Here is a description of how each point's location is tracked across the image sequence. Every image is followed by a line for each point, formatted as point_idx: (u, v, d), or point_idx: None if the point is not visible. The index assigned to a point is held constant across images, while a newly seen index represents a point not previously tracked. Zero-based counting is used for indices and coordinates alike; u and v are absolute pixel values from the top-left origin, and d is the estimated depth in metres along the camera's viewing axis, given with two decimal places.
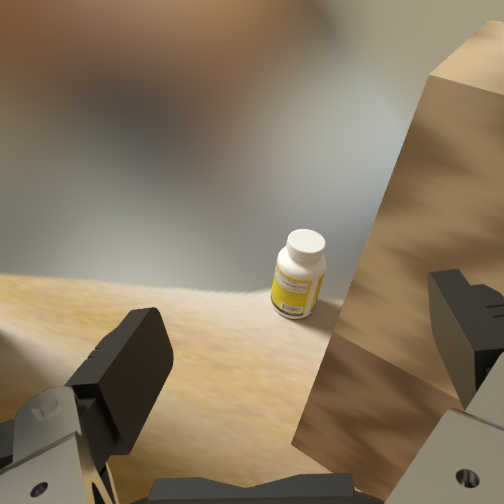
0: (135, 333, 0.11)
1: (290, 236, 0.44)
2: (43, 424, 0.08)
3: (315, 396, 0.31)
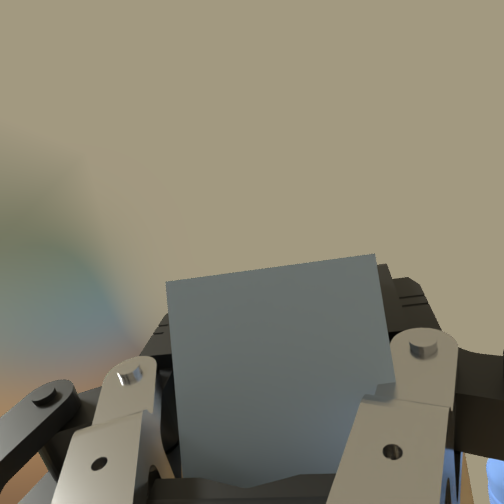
0: None
1: None
2: (134, 388, 0.09)
3: None
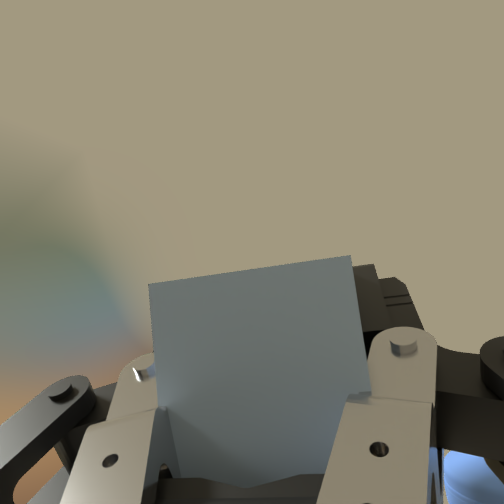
0: None
1: None
2: (151, 384, 0.09)
3: None
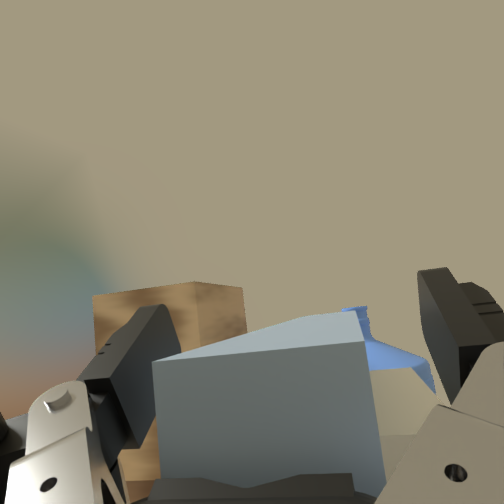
0: (145, 329, 0.11)
1: None
2: (57, 418, 0.08)
3: None
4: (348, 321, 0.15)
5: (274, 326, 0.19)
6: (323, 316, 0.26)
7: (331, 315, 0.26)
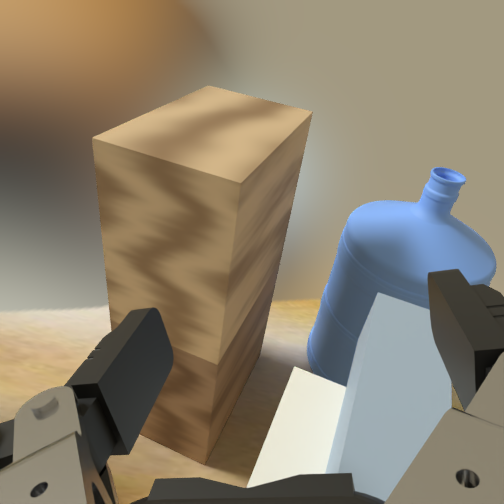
0: (135, 333, 0.11)
1: None
2: (43, 424, 0.08)
3: None
4: None
5: None
6: (403, 410, 0.17)
7: (415, 411, 0.17)
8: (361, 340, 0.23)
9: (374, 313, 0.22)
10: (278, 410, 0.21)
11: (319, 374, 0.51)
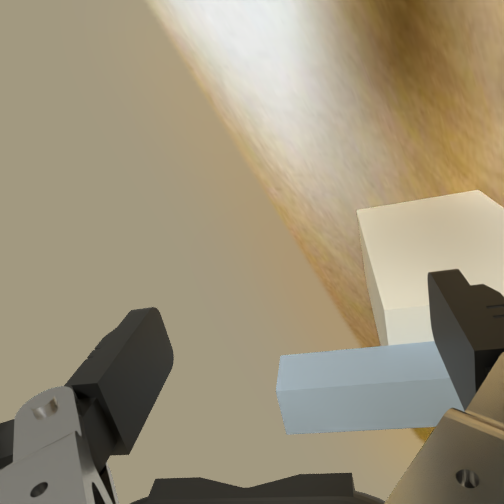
0: (135, 333, 0.11)
1: None
2: (43, 424, 0.08)
3: None
4: (402, 424, 0.28)
5: (448, 382, 0.26)
6: None
7: None
8: None
9: None
10: None
11: None
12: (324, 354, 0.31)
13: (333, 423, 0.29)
